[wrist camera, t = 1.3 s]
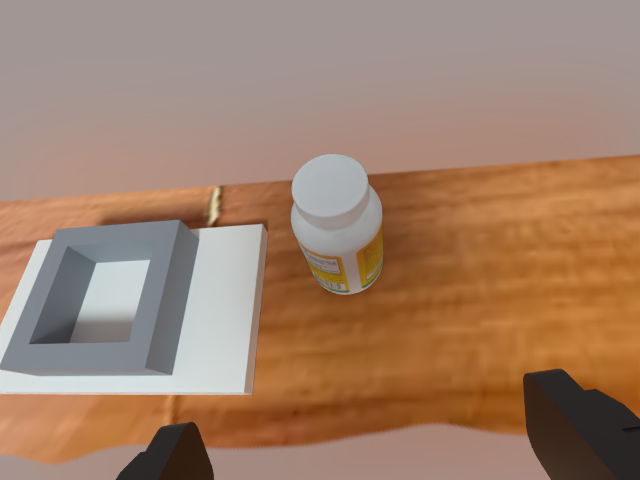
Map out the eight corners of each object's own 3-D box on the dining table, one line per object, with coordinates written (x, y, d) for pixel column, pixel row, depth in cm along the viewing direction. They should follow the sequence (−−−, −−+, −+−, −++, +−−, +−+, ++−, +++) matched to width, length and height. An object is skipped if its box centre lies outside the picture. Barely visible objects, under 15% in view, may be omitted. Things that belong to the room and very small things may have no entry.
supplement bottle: (320, 305, 26) (285, 241, 17) (305, 241, 28) (269, 159, 20) (394, 285, 25) (395, 210, 17) (372, 222, 28) (364, 131, 20)
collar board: (268, 233, 29) (249, 202, 25) (252, 394, 23) (224, 386, 20) (52, 248, 32) (5, 222, 28) (-8, 393, 27) (-77, 386, 23)
